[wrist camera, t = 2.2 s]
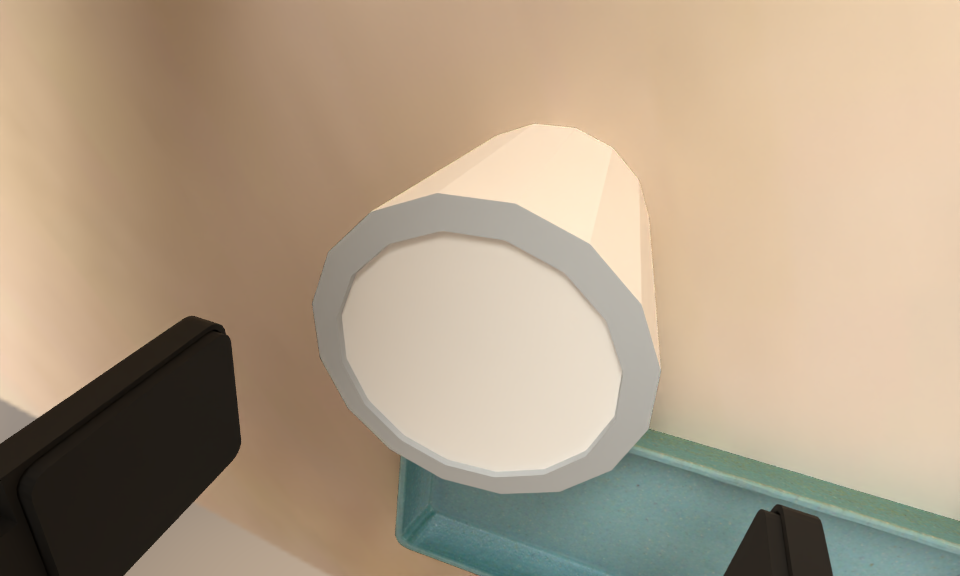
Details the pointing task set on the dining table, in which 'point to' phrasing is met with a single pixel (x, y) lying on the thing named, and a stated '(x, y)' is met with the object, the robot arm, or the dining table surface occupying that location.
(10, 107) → the dining table surface
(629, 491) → the teal serving tray
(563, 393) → the white cup
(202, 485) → the robot arm
